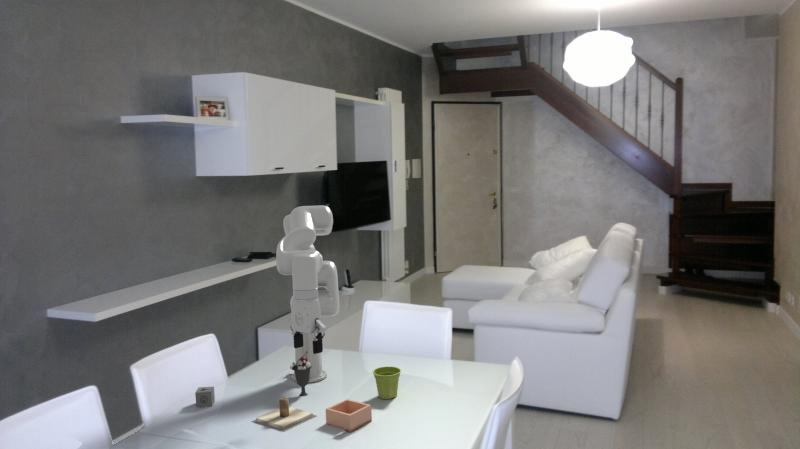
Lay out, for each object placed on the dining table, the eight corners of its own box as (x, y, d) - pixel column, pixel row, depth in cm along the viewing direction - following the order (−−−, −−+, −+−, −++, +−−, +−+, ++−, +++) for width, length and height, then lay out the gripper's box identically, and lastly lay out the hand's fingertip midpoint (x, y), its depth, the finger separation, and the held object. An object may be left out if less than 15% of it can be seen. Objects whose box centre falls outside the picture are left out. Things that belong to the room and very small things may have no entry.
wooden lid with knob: (256, 421, 197) (255, 401, 196) (285, 408, 207) (284, 389, 206) (283, 429, 190) (282, 409, 189) (312, 416, 199) (312, 397, 199)
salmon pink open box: (326, 425, 194) (325, 408, 193) (347, 414, 201) (347, 398, 201) (350, 432, 188) (350, 415, 188) (371, 421, 196) (371, 405, 195)
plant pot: (398, 402, 211) (398, 375, 210) (370, 400, 213) (369, 374, 212) (404, 391, 220) (403, 366, 219) (377, 390, 222) (376, 365, 221)
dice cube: (199, 402, 216) (198, 387, 216) (214, 401, 217) (214, 386, 216) (196, 407, 211) (195, 392, 211) (212, 406, 212) (211, 391, 211)
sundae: (317, 393, 221) (315, 350, 219) (307, 400, 214) (305, 356, 213) (299, 392, 223) (297, 349, 221) (289, 398, 216) (287, 354, 215)
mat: (251, 423, 197) (251, 421, 197) (285, 408, 208) (285, 406, 208) (283, 433, 188) (283, 431, 188) (317, 417, 200) (317, 415, 200)
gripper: (279, 293, 201) (281, 347, 202) (312, 299, 188) (315, 358, 190) (299, 289, 206) (301, 342, 207) (333, 295, 193) (335, 352, 195)
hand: (308, 350), depth 198 cm, fingers open, 9 cm apart
